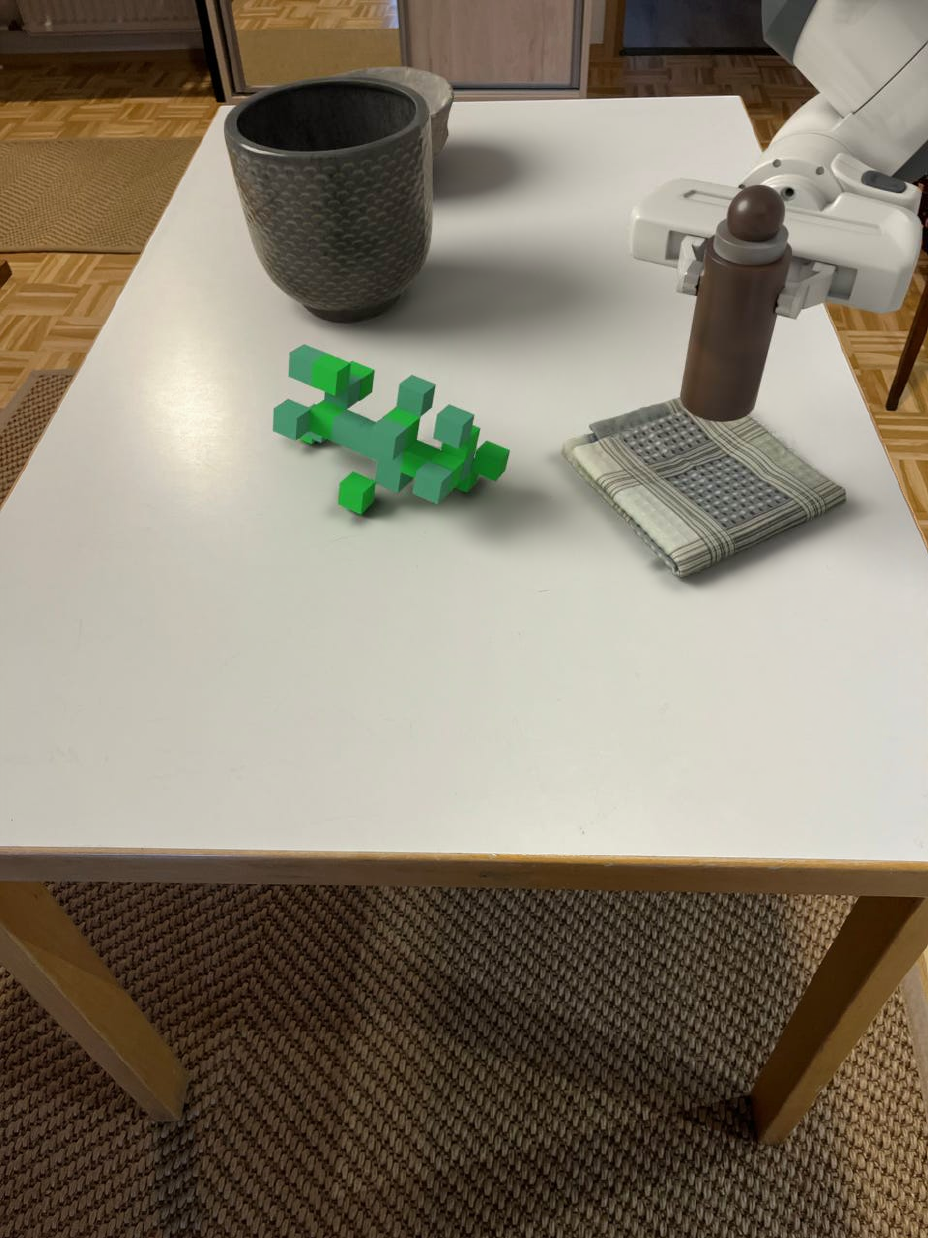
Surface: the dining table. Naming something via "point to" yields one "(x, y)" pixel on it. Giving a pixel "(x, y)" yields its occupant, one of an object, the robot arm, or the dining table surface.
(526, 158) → the dining table surface
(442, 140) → the bowl
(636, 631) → the dining table surface
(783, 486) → the dish towel
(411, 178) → the planter
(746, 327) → the pepper mill
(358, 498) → the building blocks
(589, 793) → the dining table surface
